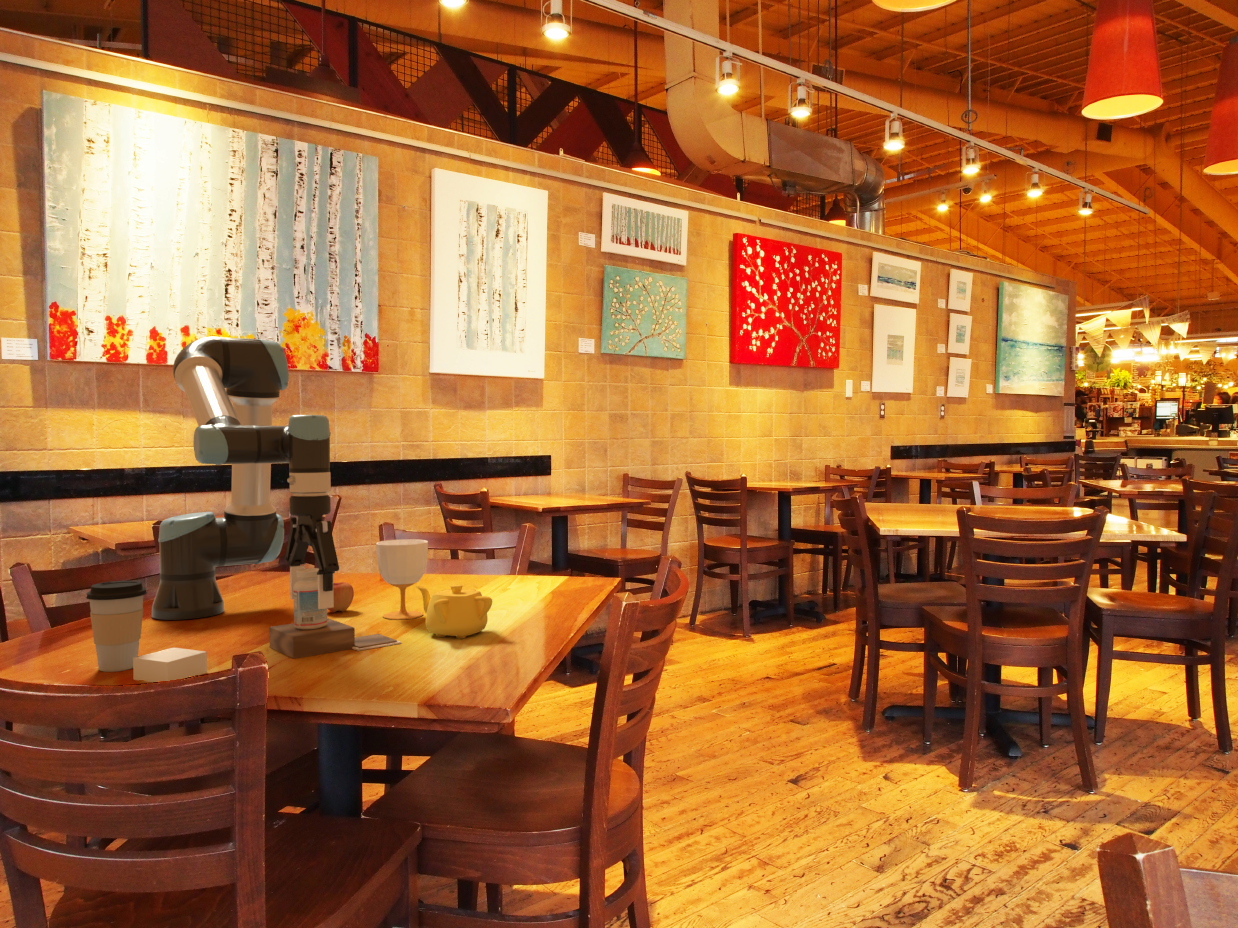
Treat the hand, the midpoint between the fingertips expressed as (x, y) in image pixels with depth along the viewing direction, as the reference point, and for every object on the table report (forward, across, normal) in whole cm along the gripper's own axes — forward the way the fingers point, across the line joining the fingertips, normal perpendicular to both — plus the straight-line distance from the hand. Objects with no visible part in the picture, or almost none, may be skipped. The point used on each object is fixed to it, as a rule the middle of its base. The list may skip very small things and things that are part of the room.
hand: (311, 603), depth 170 cm
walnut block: (+9, 0, 0) cm, 9 cm away
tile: (+9, +4, +10) cm, 14 cm away
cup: (+9, -16, +28) cm, 33 cm away
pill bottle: (+5, 0, 0) cm, 5 cm away
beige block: (+9, +4, -26) cm, 28 cm away
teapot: (+9, +8, +27) cm, 30 cm away
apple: (+9, -31, +19) cm, 37 cm away
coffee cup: (+9, -9, -32) cm, 34 cm away
